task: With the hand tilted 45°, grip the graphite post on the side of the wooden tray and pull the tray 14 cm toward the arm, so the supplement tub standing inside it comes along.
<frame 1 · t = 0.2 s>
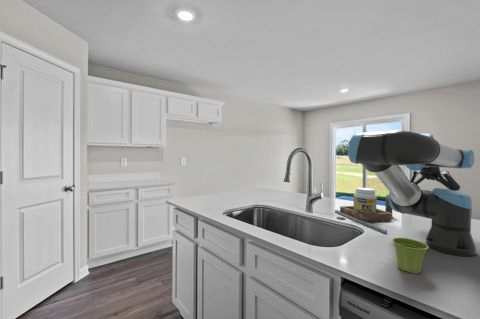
hand: (435, 197, 120), 16 cm above the worktop, tool tilted 35°, fingers open, 13 cm apart
supplement tub: (364, 217, 140), resting in wooden tray
wooden tray: (371, 206, 140), point 6 cm above the worktop, slide at 0.0 cm
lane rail: (364, 216, 140), on the worktop
plant pot: (408, 269, 76), on the worktop
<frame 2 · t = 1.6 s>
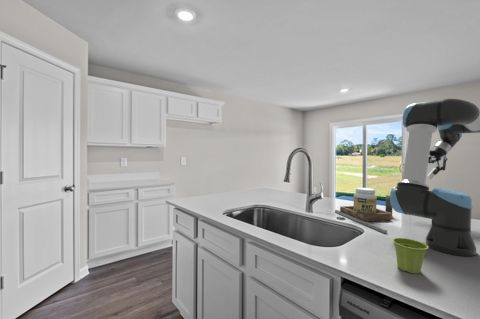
hand: (417, 176, 135), 25 cm above the worktop, tool tilted 45°, fingers open, 13 cm apart
nothing on the worktop moved.
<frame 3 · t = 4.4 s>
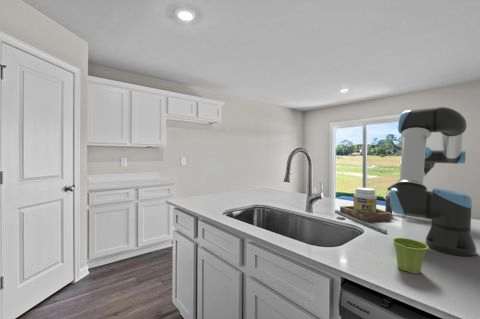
hand: (393, 201, 144), 9 cm above the worktop, tool tilted 45°, fingers open, 13 cm apart
nothing on the worktop moved.
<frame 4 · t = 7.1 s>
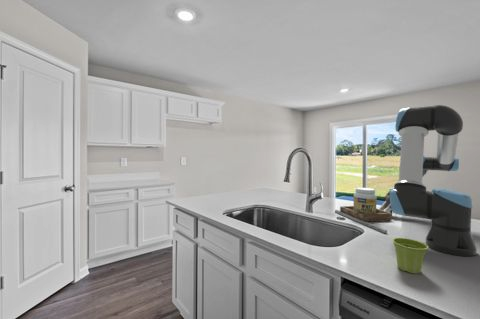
hand: (383, 210, 142), 3 cm above the worktop, tool tilted 45°, fingers closed on wooden tray, 4 cm apart
wooden tray: (371, 206, 140), point 6 cm above the worktop, slide at 0.0 cm, touching gripper
everything else where it was.
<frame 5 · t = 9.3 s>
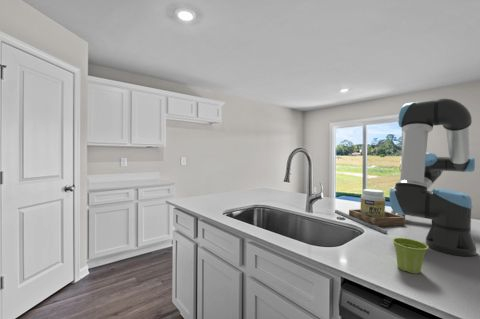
hand: (395, 214, 133), 3 cm above the worktop, tool tilted 45°, fingers closed on wooden tray, 4 cm apart
supplement tub: (372, 220, 133), resting in wooden tray
wooden tray: (382, 209, 132), point 6 cm above the worktop, slide at 8.7 cm, touching gripper, supplement tub
everything else where it was.
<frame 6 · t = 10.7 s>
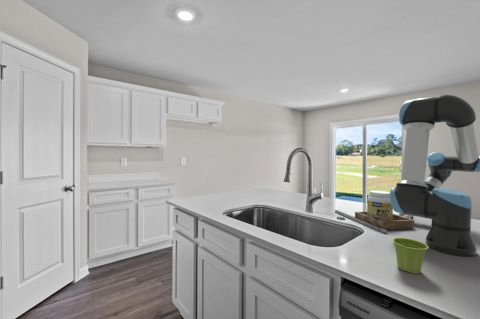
hand: (403, 216, 128), 3 cm above the worktop, tool tilted 45°, fingers closed on wooden tray, 4 cm apart
supplement tub: (379, 222, 128), resting in wooden tray
wooden tray: (390, 211, 127), point 6 cm above the worktop, slide at 13.9 cm, touching gripper, supplement tub
everything else where it was.
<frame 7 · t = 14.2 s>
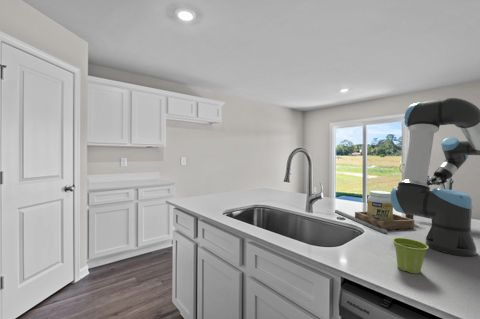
hand: (422, 198, 130), 13 cm above the worktop, tool tilted 45°, fingers open, 13 cm apart
supplement tub: (379, 222, 128), resting in wooden tray
wooden tray: (390, 211, 127), point 6 cm above the worktop, slide at 14.0 cm
everything else where it was.
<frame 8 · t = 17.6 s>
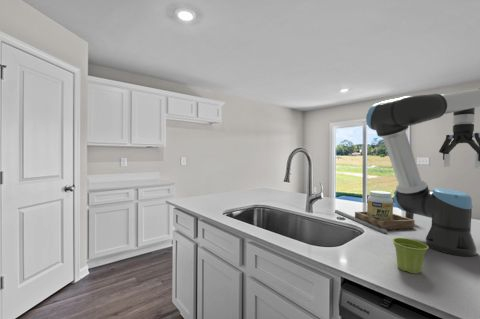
hand: (461, 167, 114), 32 cm above the worktop, tool pointing down, fingers open, 13 cm apart
nothing on the worktop moved.
at the end: wooden tray slide at 14.0 cm; supplement tub 2.4 cm from the wooden tray (horizontally); supplement tub tilted 0° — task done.
